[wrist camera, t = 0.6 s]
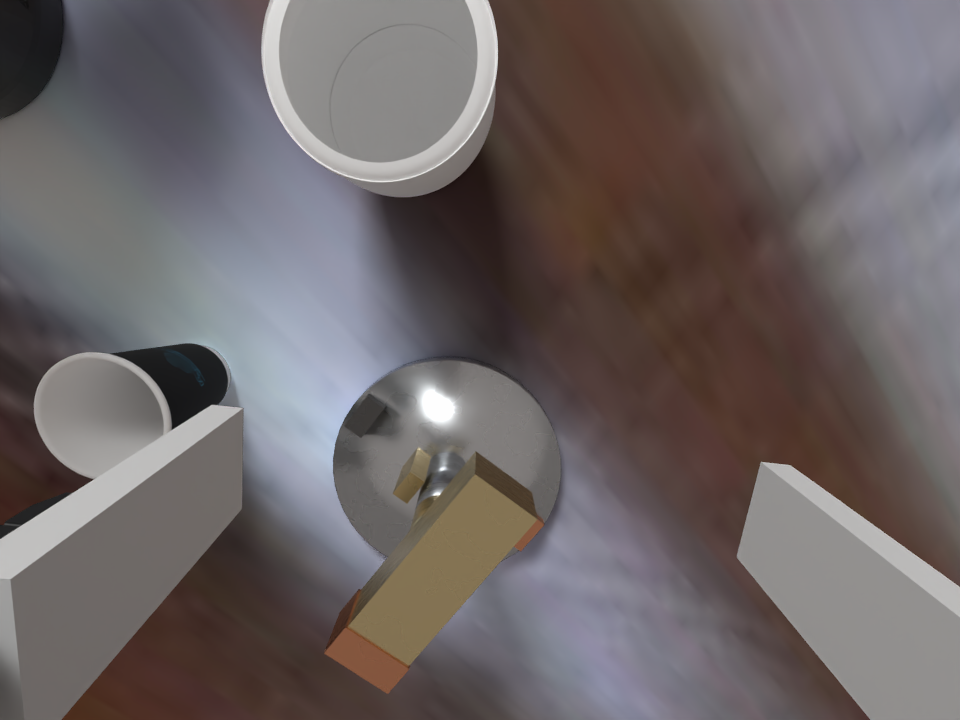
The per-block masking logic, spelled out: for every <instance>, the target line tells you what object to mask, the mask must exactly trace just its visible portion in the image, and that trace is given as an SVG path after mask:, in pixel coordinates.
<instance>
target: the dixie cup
mask: <svg viewBox="0 0 960 720" xmlns="http://www.w3.org/2000/svg"><path fill="white" fill-rule="evenodd" d="M230 379H231V377H230V370H229V367H228V365H227V363H226V361H225V360H224V358H223V357H222V356H221V355H220V354H219V353H218V352H216V351H215V350H213V349H211V348H209V347H206V346H202V345H197V344H178V345H171V346H163V347H156V348H149V349H141V350H134V351H126V352H119V353H111V354H106V353H98V352H87V353H80V354H75V355H72V356H69V357H67V358H65V359H63V360H61V361H59V362H58V363H56V364H55V365H54V366H52V367H51V368H50V369H49V370H48V371H47V372H46V374H45V375H44V376H43V378H42V379H41V381H40V383H39V385H38V388H37V390H36V394H35V399H34V417H35V422H36V425H37V429H38V431H39V434H40V436H41V438H42V440H43V442H44V443H45V445H46V446H47V448H48V449H49V450H50V452H51V453H52V454H53V455H54V456H55V457H56V458H57V459H58V460H59V461H60V462H61V463H63V464H64V465H65V466H67V467H68V468H70V469H71V470H73V471H75V472H76V473H78V474H81V475H83V476H85V477H88V478H91V479H96V478H97V477H99V476H100V475H102V474H104V473H105V472H107V471H108V470H110V469H111V468H113V467H115V466H116V465H118V464H119V463H121V462H122V461H124V460H126V459H127V458H129V457H130V456H132V455H134V454H135V453H137V452H138V451H140V450H141V449H143V448H145V447H146V446H148V445H149V444H151V443H152V442H154V441H156V440H157V439H159V438H160V437H162V436H163V435H165V434H167V433H168V432H170V431H171V430H173V429H174V428H176V427H178V426H179V425H181V424H182V423H184V422H185V421H187V420H189V419H190V418H192V417H193V416H195V415H197V414H198V413H200V412H201V411H203V410H204V409H206V408H208V407H209V406H211V405H217V404H219V403H220V402H221V400H222V399H223V398H224V396H225V394H226V392H227V390H228V388H229V385H230Z"/></svg>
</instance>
